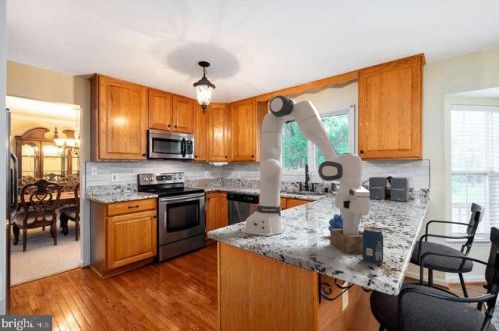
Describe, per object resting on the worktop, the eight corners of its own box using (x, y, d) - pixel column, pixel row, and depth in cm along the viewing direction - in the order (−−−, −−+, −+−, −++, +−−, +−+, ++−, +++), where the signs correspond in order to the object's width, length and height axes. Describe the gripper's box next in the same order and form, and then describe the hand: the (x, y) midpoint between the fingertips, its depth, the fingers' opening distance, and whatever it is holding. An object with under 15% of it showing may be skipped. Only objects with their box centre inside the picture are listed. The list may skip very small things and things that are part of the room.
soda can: (366, 256, 92) (366, 226, 92) (385, 261, 87) (386, 229, 87) (359, 261, 88) (359, 229, 88) (379, 267, 83) (379, 233, 83)
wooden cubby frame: (344, 253, 95) (344, 236, 95) (330, 244, 106) (330, 229, 106) (371, 252, 97) (371, 235, 97) (355, 243, 108) (355, 228, 108)
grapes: (349, 234, 122) (349, 211, 122) (353, 238, 115) (353, 214, 116) (326, 233, 124) (326, 210, 124) (329, 237, 117) (329, 213, 117)
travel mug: (340, 246, 101) (340, 200, 101) (345, 242, 106) (346, 198, 106) (355, 249, 97) (356, 201, 97) (360, 245, 102) (360, 200, 102)
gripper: (331, 187, 112) (331, 216, 112) (358, 192, 91) (357, 228, 91) (343, 187, 113) (343, 216, 113) (372, 192, 92) (372, 227, 92)
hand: (350, 221), depth 102 cm, fingers open, 8 cm apart
